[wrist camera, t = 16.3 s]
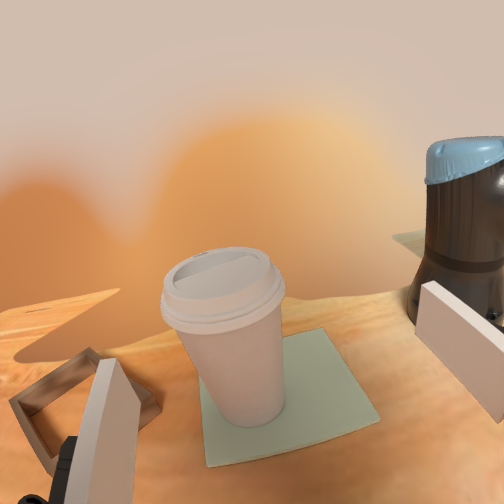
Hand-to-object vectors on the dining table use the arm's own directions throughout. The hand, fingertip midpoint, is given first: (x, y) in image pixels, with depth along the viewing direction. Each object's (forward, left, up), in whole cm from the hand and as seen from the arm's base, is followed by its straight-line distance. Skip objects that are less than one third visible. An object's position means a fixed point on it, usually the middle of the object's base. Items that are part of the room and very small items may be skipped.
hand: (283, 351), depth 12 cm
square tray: (+6, -24, -17) cm, 30 cm away
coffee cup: (-7, -9, -16) cm, 20 cm away
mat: (-10, -8, -17) cm, 21 cm away
